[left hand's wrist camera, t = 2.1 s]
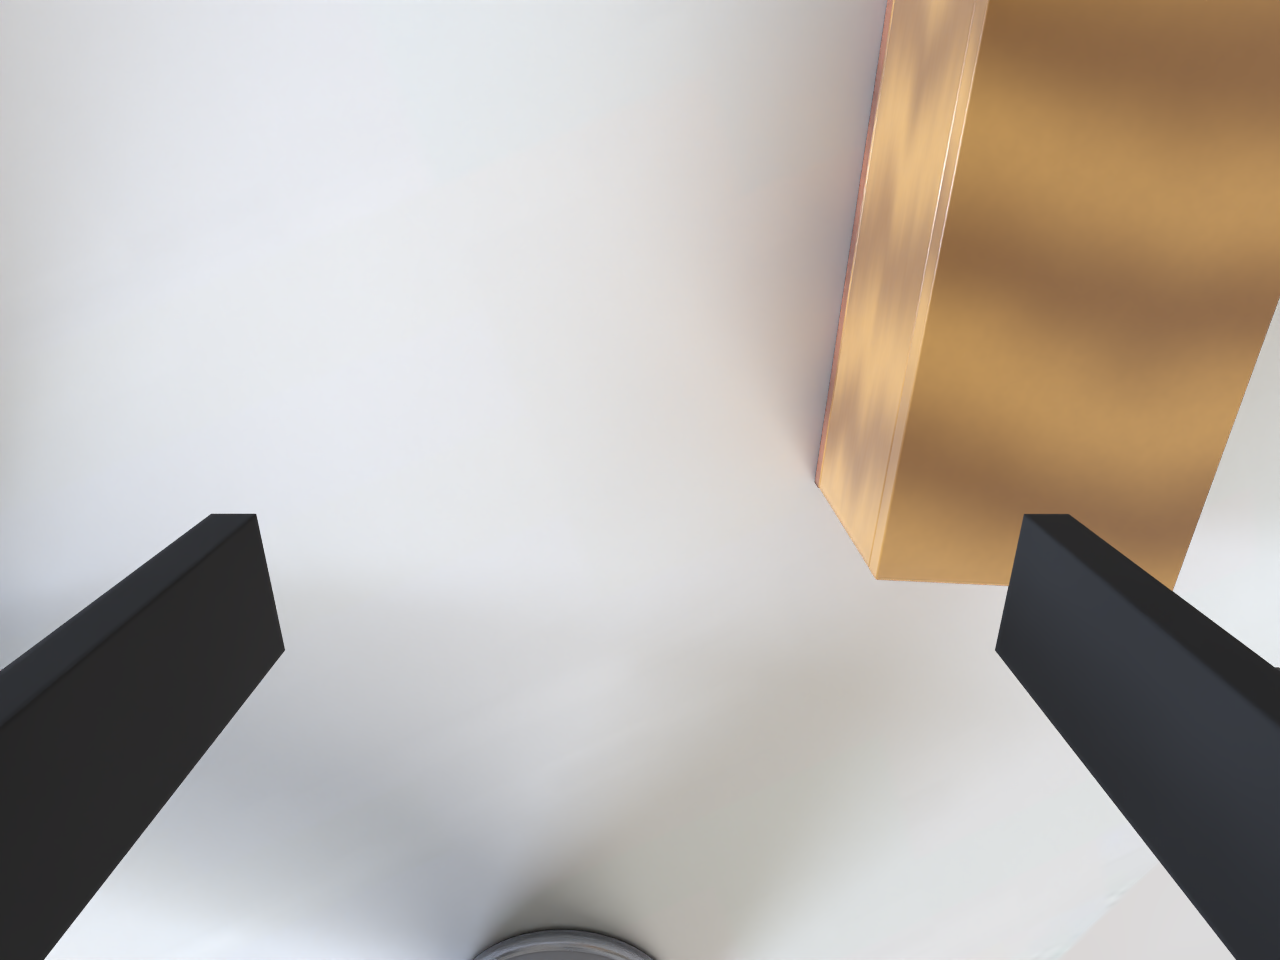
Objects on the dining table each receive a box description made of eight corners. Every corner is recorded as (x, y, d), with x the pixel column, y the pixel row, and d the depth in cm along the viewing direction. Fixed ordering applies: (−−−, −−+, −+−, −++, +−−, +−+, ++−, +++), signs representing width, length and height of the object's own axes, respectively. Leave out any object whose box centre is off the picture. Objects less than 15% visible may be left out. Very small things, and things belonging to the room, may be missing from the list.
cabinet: (894, -46, 28) (1019, -164, 19) (1178, -27, 28) (1439, -135, 19) (814, 482, 35) (875, 580, 26) (1036, 493, 36) (1172, 594, 27)
